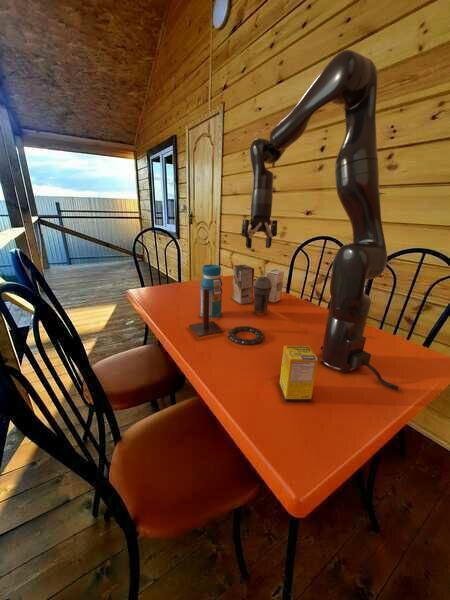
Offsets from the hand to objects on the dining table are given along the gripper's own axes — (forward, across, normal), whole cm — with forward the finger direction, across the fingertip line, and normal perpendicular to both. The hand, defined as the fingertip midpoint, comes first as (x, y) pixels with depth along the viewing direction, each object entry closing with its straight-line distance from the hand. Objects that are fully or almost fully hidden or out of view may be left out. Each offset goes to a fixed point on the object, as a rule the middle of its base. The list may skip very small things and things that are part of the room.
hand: (258, 248), depth 97 cm
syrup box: (+26, +17, +10) cm, 33 cm away
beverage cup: (+27, +2, -2) cm, 27 cm away
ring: (+26, -15, -19) cm, 35 cm away
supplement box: (+27, -18, -46) cm, 57 cm away
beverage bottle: (+26, -18, +3) cm, 32 cm away
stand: (+26, -25, -9) cm, 38 cm away
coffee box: (+26, +2, +15) cm, 30 cm away
